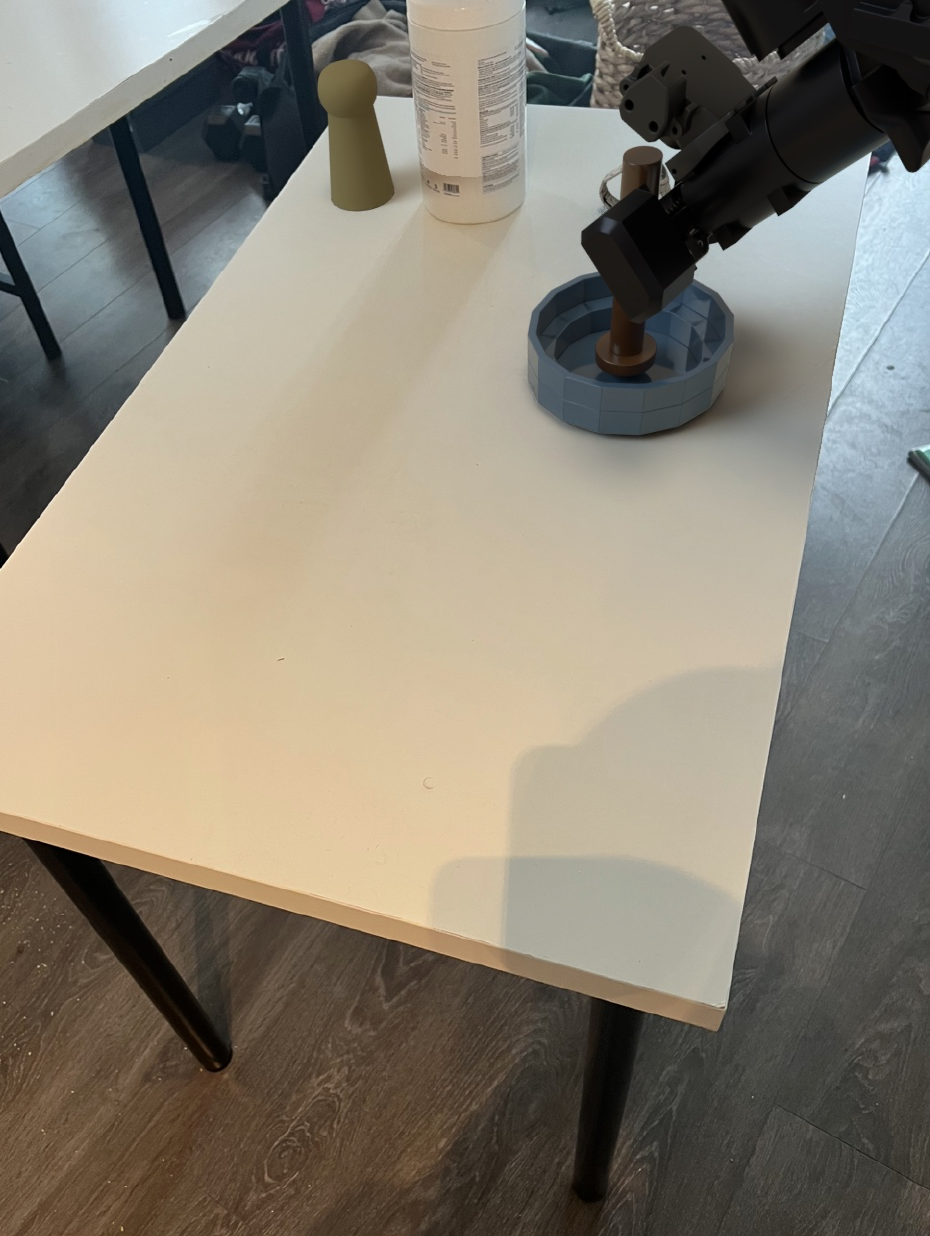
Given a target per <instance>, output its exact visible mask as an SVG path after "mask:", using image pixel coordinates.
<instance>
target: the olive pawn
mask: <svg viewBox="0 0 930 1236" xmlns="http://www.w3.org/2000/svg"><path fill="white" fill-rule="evenodd" d="M317 96H318V99H319V102H320V104H321V106H322V107H323V109H324V110H325V111H326V112H327V131H328V151H329V153H328V156H329V177H330V199H331V203H332V204H333V205H334V206H336V207H337V208H339V209H342V210H344V211H345V210H346V211H352V212H359V211H368V210H373V209H377V208H378V207H381V206H383V205H385V204H386V203H387V202H388V201H390V200H391V199H392V197H393V196H394V194H395V185H394V181H393V178H392V174H391V170H390V169H391V168H390V166H389V163H388V162H389V161H388V158H387V153H386V150H385V149H386V148H385V146H384V142H383V138H382V134H381V130H380V125H379V122H378V118H377V113H376V110H375V109H376V108H375V106H374V105H375V103H376V100H377V97H378V80H377V76H376V73H375V71H374V70H373V68H372V67H371V66H370V65H369V63H367V62H366V61H362V60H360V59H355V58H353V59H352V58H347V59H341V60H337V61H334V62H331V63H329V64H328V65H327V66H325V67H324V68H323V69H322V70H321V72H320V73H319V76H318V79H317Z"/></svg>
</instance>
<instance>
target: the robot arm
mask: <svg viewBox="0 0 930 1236" xmlns="http://www.w3.org/2000/svg"><path fill="white" fill-rule="evenodd" d="M720 1H721V4H722V6H723V7H724V9H725V12H726V13H727V14H728V16H729V18H730V20H731V22H732V24H733V26H734V27H735V29H736V31H737V32H738V34H739V36H740V38H741V40H742V41H743V43H744V45H745V47H746V48H747V51H748V52H749V54H750V56H752V57H753V56H755V58H756V59H757V62H758V63H761V62H762V61H763V60H765V59H766V58H767V57H768V56H769V55H771V54H772V53H773V52H775V54H776V55H777V57H778V59H779V60H780V62H782V61H783V60H784V59H785V58H787V57H788V56H790V54H792V53H793V52H794V51H795V50H797V49H798V48H799V47H801V46H802V45H803V44H804V43H805V42H807V41H808V40H810V39H811V38H812V37H813V36H814V35H815V34H817V33H818V32H819V31H821V30H822V29H823V28H825V27H826V26H827V25H829V27H830V28H831V30H832V32H833V34H834V37H832V38H831V39H830V40H828V41H827V42H825V44H823V45H822V46H820V48H818V49H817V50H815V51H814V52H813V53H812V54H811V55H809V56H808V57H807V58H806V59H804V60H802V62H800V63H799V64H798V65H797V66H795V67H794V68H792V69H791V70H790V71H788V72H787V73H786V74H784V75H783V76H782V77H780V78H779V79H778V77H777V76H776V75H774V76H773V77H771V78H770V79H769V80H768V81H766V82H765V83H764V84H762V85H761V86H760V87H759V88H755V86H754V85H753V84H752V83H751V81H749V80H748V79H747V77H746V76H744V75H743V73H742V70H741V68H740V67H739V66H738V65H737V64H736V63H735V62H734V61H733V60H731V58H729V56H727V55H726V54H725V53H724V52H722V50H720V48H718V47H717V46H716V45H715V44H713V43H712V42H711V41H710V40H709V39H707V38H706V37H705V36H704V35H703V34H702V33H701V32H699V30H697V29H696V28H694V27H692V26H689V25H679V26H676V27H674V28H673V29H672V30H670V31H668V32H667V33H666V34H665V35H663V36H661V37H660V38H659V39H657V40H656V41H654V42H653V43H652V44H650V45H649V46H648V47H647V48H645V50H644V52H643V54H642V56H641V58H640V60H639V62H637V63H636V64H635V66H634V68H633V70H632V71H631V73H629V74H628V75H626V77H623V79H621V80H620V82H619V84H618V90H619V93H620V94H621V96H622V97H621V100H620V103H619V105H618V111H619V116H620V119H621V120H622V122H623V123H625V124H626V125H627V126H628V127H629V128H630V129H632V130H633V131H634V132H635V133H636V134H637V135H638V136H639V137H641V138H642V139H643V140H644V141H645V142H647V143H657V141H659V140H660V141H661V143H663V144H664V145H665V146H666V147H668V148H669V149H672V150H676V151H678V152H677V153H675V154H674V155H673V156H671V157H670V158H669V159H668V160H667V161H666V162H664V166H665V168H666V170H667V171H668V173H669V174H670V176H671V177H672V179H673V181H674V182H673V187H671V190H670V191H669V192H668V193H666V194H665V195H664V196H663V197H661V196H660V197H659V200H658V198H657V196H656V195H655V194H653V193H652V192H651V190H650V189H649V187H648V185H647V184H646V182H645V183H643V184H642V185H641V186H640V187H638V188H635V189H634V190H633V191H631V192H630V193H629V194H628V195H626V196H625V197H624V198H622V199H621V200H620V199H619V200H620V201H619V202H617V203H616V204H615V205H614V206H612V207H611V208H610V209H607V210H606V211H605V212H604V213H602V214H601V215H600V216H598V217H597V218H596V219H595V220H594V221H592V222H591V223H590V224H589V225H587V226H586V227H585V228H583V229H582V230H581V232H580V245H581V247H582V248H583V250H584V252H585V253H586V255H587V256H588V258H589V259H590V261H591V263H592V264H593V266H594V267H595V269H596V270H597V271H596V272H599V274H600V275H601V277H602V278H603V280H604V282H605V283H606V285H607V286H608V288H609V289H610V291H611V293H612V294H613V296H614V297H615V299H616V300H617V302H618V304H619V305H620V307H621V308H622V310H623V311H624V313H625V315H626V316H627V318H628V319H629V321H633V322H636V323H639V324H640V323H642V322H644V321H645V320H647V319H649V318H650V317H652V316H654V315H655V314H657V313H659V312H660V311H662V310H663V309H664V308H665V307H666V306H667V305H668V304H670V303H671V302H672V301H673V300H674V299H675V298H676V297H677V296H678V295H680V294H681V293H682V292H683V291H684V290H685V289H686V288H687V287H688V286H690V285H691V284H692V283H693V280H694V279H695V273H696V271H697V270H698V266H697V263H699V261H701V260H702V259H703V258H704V257H705V256H707V254H708V253H709V251H710V245H714V244H718V246H720V248H721V250H722V252H724V251H726V250H727V249H729V248H730V247H732V246H734V245H736V244H737V243H738V242H739V241H741V239H743V238H744V237H745V236H747V234H748V233H749V232H750V231H751V230H753V228H754V227H756V226H757V225H758V224H760V223H762V222H763V221H765V220H767V219H768V218H770V217H771V216H773V215H774V214H776V216H777V217H780V216H782V215H784V214H785V213H787V212H788V211H790V210H791V209H793V208H794V207H795V206H796V205H797V204H799V203H800V202H801V201H802V200H803V199H804V198H805V197H807V195H809V193H811V192H812V191H813V190H814V189H816V188H817V187H819V186H821V185H823V184H824V183H825V182H827V181H828V180H830V179H831V178H833V177H834V176H836V175H838V174H839V173H841V172H842V171H844V170H846V169H847V168H849V167H851V166H852V165H853V164H856V163H857V162H858V161H860V160H861V159H863V158H864V157H866V156H867V155H869V154H870V153H872V152H874V151H875V150H877V149H879V148H880V147H882V146H883V145H885V144H887V143H888V142H891V144H892V147H893V148H894V150H895V152H896V154H897V156H898V157H899V161H901V163H902V165H903V167H904V169H905V171H906V172H908V173H909V174H910V173H911V174H914V173H917V172H918V171H920V170H921V168H922V167H924V166H925V165H926V164H927V163H928V162H929V161H930V0H720Z"/></svg>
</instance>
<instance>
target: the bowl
mask: <svg viewBox="0 0 930 1236" xmlns="http://www.w3.org/2000/svg"><path fill="white" fill-rule="evenodd" d="M612 301H613V294H612V293H611V291H610V289H609V288H608V286H607V285H606V283H605V282H604V280H603V278H602V277H601V275H600V274H599V272H598V271H594V272H588V273H585V274H581V275H578V276H576V277H574V278H572V279H570V280H568V281H566V282H564V283H562V284H561V285H559V286H556V287H555V288H553V289H551V290H550V291H549V292H548V293H547V294H546V295H545V296H544V297H543V298H542V300H541V301H540V302H539V303H538V304H537V305H536V306H535V307H534V308H533V309H532V311H531V314H530V318H529V319H530V320H529V324H528V330H527V381H528V383H529V385H530V388H531V390H532V392H533V394H534V396H535V398H536V401H537V402H538V404H539V405H541V406H542V407H543V408H544V409H546V410H547V411H549V412H550V413H551V414H552V415H554V416H555V417H556V418H557V419H559V420H560V421H561V422H564V423H566V424H569V425H572V426H575V427H577V428H582V429H583V430H587V431H591V432H593V433H597V434H604V435H623V436H624V435H628V436H643V435H647V434H652V433H655V432H660V431H665V430H669V429H674V428H678V427H681V426H682V425H684V424H686V423H687V422H689V421H691V420H693V419H695V418H696V417H698V416H699V415H701V414H703V413H705V412H707V411H708V410H709V409H710V408H711V407H712V405H713V404H714V403H715V401H716V400H717V399H718V397H719V395H720V394H721V393H722V391H723V389H725V386H726V384H727V378H728V373H729V368H730V362H731V358H732V353H733V348H734V342H735V314H734V313H733V312H732V310H731V308H730V307H729V306H728V303H726V301H725V300H724V299H723V297H722V296H721V294H720V293H719V292H718V291H716V290H714V289H712V288H711V287H709V286H707V285H705V284H704V283H702V282H701V281H699V280H697V279H696V278H694V280H693V283H692V284H691V285H690V286H688V287H687V288H686V289H685V290H684V291H683V292H682V293H681V294H680V295H678V296H677V297H676V298H675V299H674V300H673V301H672V302H671V303H670V304H668V305H667V306H666V307H665V308H664V309H663V310H662V311H660V312H659V313H657V314H655V315H654V316H652V317H650V318H649V319H647V320H646V324H645V332H646V333H648V334H649V335H651V336H652V337H653V338H654V339H655V341H656V343H657V354H656V361H655V363H654V365H653V366H652V367H651V368H650V369H649V370H647V371H646V372H644V373H642V374H639V375H635V376H628V377H622V376H614V375H611V374H608V373H606V372H604V371H602V370H601V369H600V368H599V367H598V366H597V364H596V362H595V345H596V343H597V341H598V339H599V338H600V337H601V336H603V335H604V334H606V333H608V332H610V329H611V315H612Z"/></svg>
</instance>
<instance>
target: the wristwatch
mask: <svg viewBox="0 0 930 1236" xmlns="http://www.w3.org/2000/svg"><path fill="white" fill-rule="evenodd" d="M620 174H621V175H622V164H620V165H619V166H618V167H616V168H614V169H612V170H611V171H609V172H608V173H606V175H605V176H604V177H603V178H602V181H601V183H600V186H599V191H598V192H599V193H598V195H599V198H600V201H601V202H602V204H603V206H604V208H605V209H607V210H609V209H610V208H611V207H612V206H614V205H615V204H616V203H617V202H619V201H620V199H618V198H617V197H615V196H613V194H612V193H611V192H610V190H609V188H608V186H607V185H608V182H609V181H611V180H613V178H616V177H617V176H619V175H620ZM671 189H672V187H671V184H670V175H669V171H668V169H667V167H666V165H665V164H663V163H662V171H661V181H660V190H659V196H660V198H661V197H663V196H664V195H665V194H666V193H668V192H669V191H670V190H671Z"/></svg>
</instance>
